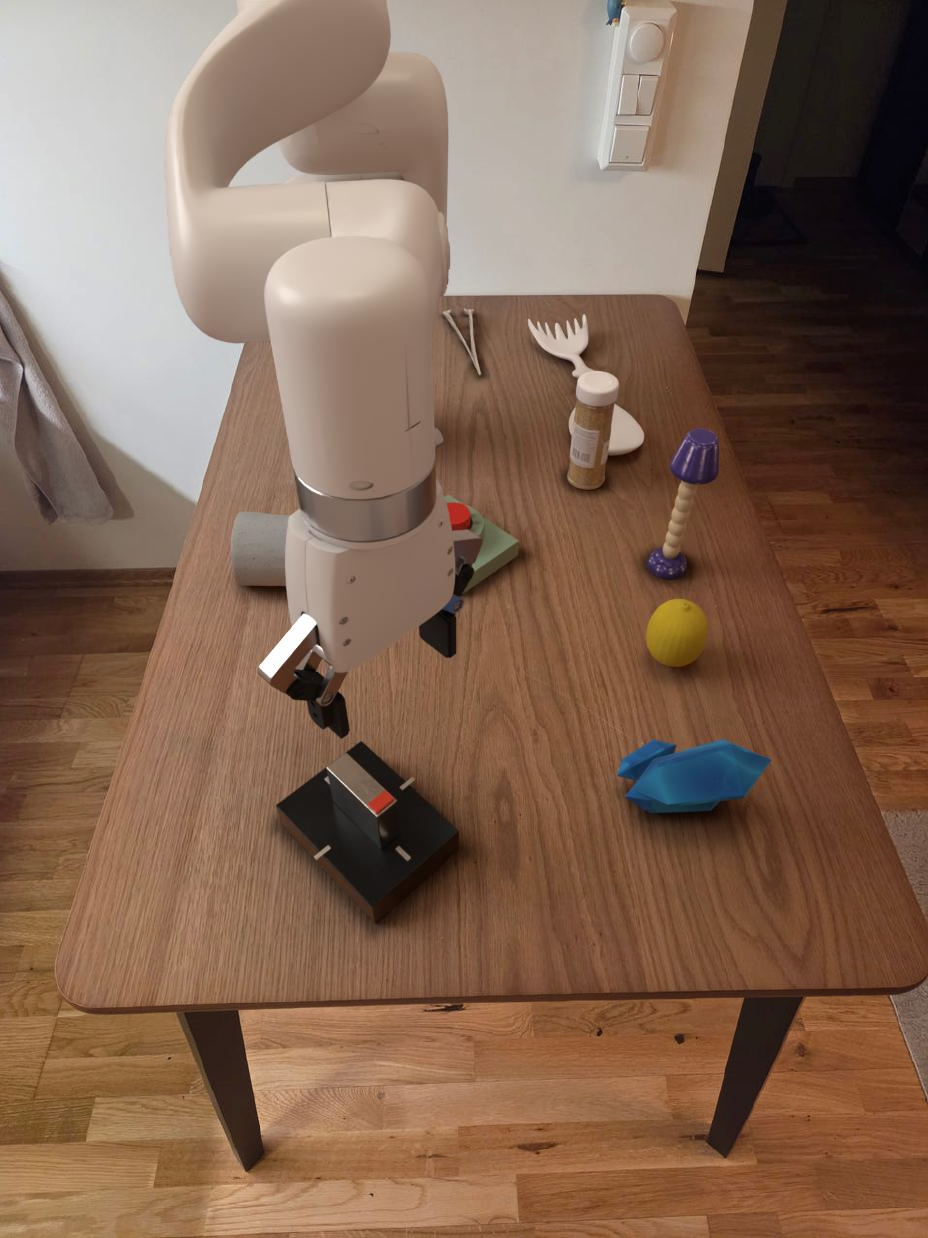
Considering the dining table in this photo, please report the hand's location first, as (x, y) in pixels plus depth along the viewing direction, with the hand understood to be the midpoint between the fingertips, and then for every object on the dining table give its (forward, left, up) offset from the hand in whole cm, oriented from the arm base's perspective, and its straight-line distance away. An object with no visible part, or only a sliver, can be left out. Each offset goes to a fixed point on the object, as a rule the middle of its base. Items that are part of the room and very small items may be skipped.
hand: (386, 683), depth 59 cm
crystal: (+16, +18, -18) cm, 30 cm away
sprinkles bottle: (-18, +46, -18) cm, 53 cm away
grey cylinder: (-31, +11, -18) cm, 38 cm away
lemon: (+6, +30, -18) cm, 35 cm away
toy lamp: (-2, +41, -18) cm, 45 cm away
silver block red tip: (0, -3, -15) cm, 15 cm away
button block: (-20, +26, -18) cm, 37 cm away
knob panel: (0, -3, -18) cm, 18 cm away
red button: (-20, +26, -14) cm, 36 cm away
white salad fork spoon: (-30, +60, -18) cm, 69 cm away
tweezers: (-50, +58, -18) cm, 79 cm away
